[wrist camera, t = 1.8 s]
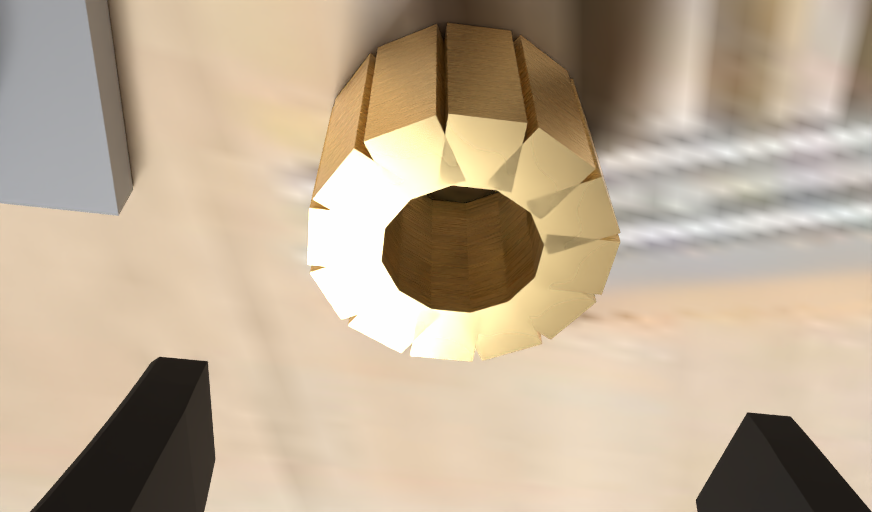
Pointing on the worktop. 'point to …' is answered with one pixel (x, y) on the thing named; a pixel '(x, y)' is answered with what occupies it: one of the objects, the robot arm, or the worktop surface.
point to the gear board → (61, 108)
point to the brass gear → (460, 222)
